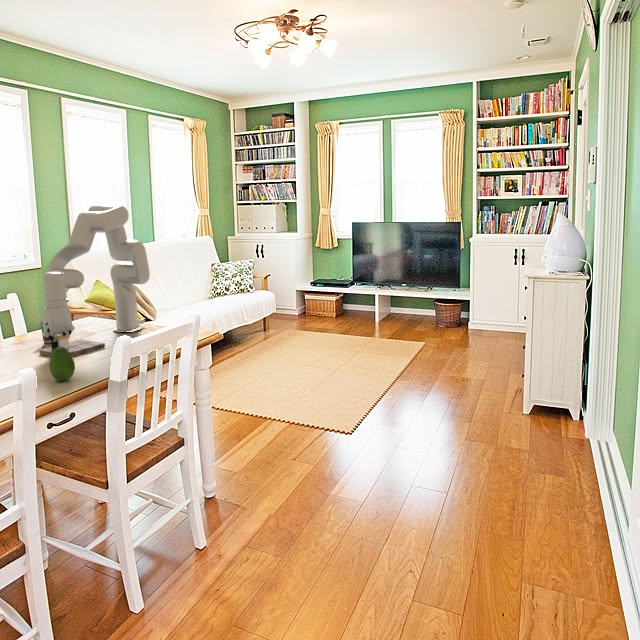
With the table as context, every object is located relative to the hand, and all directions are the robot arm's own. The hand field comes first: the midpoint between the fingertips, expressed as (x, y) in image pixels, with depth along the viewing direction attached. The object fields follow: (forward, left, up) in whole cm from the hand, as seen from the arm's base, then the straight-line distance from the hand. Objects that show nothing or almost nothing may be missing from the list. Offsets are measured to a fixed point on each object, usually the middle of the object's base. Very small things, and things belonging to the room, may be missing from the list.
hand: (60, 348), depth 229 cm
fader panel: (-6, 0, -2) cm, 6 cm away
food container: (-13, -18, -2) cm, 22 cm away
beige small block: (0, 0, 0) cm, 0 cm away
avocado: (+22, +29, -2) cm, 37 cm away
